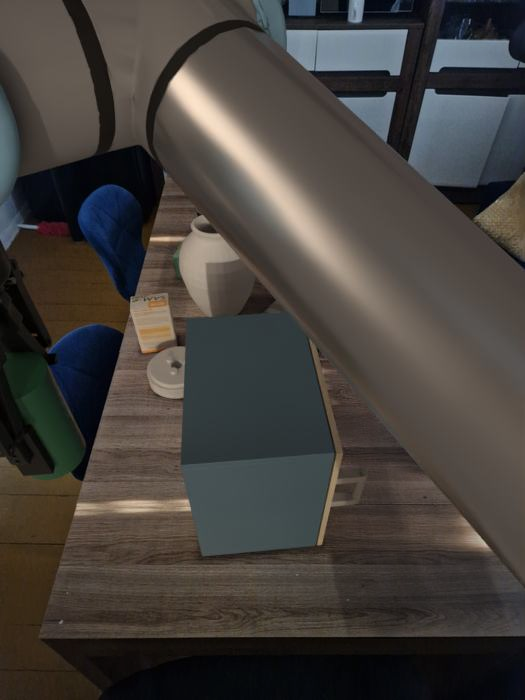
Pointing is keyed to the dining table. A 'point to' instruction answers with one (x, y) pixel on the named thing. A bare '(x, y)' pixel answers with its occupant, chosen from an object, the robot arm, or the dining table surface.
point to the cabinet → (253, 434)
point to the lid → (167, 372)
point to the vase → (214, 271)
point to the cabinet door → (335, 458)
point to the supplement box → (153, 322)
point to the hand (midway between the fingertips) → (48, 440)
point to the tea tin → (45, 411)
